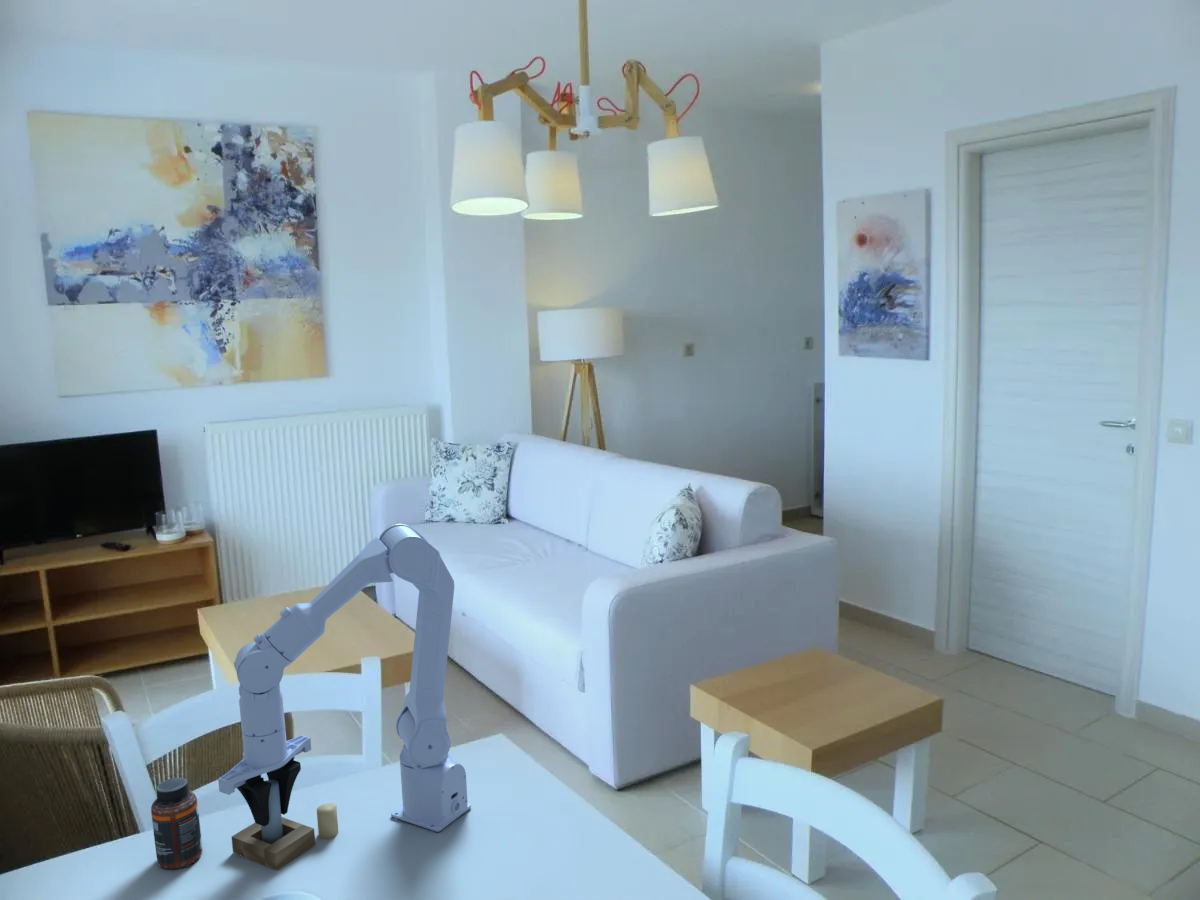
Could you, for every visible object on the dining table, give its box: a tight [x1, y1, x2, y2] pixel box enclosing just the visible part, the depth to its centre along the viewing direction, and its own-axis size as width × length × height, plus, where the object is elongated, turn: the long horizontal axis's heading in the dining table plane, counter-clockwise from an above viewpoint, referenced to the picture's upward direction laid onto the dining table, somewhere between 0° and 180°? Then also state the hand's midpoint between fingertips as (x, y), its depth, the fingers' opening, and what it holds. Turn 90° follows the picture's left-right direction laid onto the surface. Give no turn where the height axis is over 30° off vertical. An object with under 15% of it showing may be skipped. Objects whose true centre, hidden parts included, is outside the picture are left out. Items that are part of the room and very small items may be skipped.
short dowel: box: [316, 802, 339, 840], centre depth 138 cm, size 3×3×4 cm
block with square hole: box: [231, 816, 316, 871], centre depth 135 cm, size 9×7×2 cm
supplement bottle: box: [150, 777, 203, 870], centre depth 132 cm, size 6×6×11 cm
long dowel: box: [261, 780, 283, 844], centre depth 134 cm, size 3×3×8 cm
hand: (271, 817), depth 134 cm, fingers closed on long dowel, 3 cm apart
